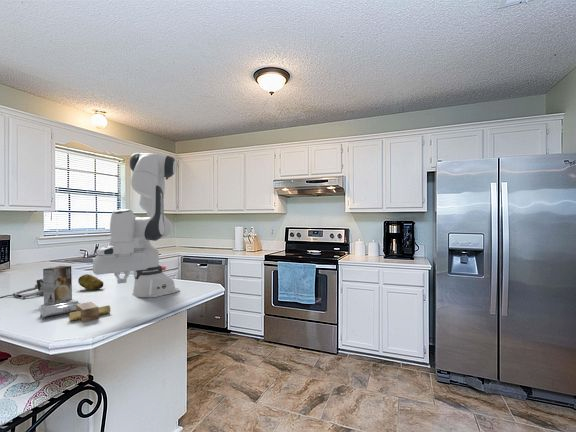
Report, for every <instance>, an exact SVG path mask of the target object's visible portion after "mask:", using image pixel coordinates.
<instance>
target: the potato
mask: <svg viewBox="0 0 576 432" xmlns="http://www.w3.org/2000/svg"><path fill="white" fill-rule="evenodd" d="M77 279H78V280H77V281H78V282H77V283H78V284H79V286H80V287H82V288H84V289H85V290H87V291H96V290H100V289H102V288H103V287H104V281H102V280H101V279H100V278H98V277H96V276H94V275H93V274H82V275H81V276H80V277H78V278H77Z"/></svg>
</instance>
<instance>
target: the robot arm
mask: <svg viewBox="0 0 576 432" xmlns="http://www.w3.org/2000/svg"><path fill="white" fill-rule="evenodd" d="M129 168H130V170H131V171H132V176H131V179H130V180H131V181H130V182H131V188H132V189H133V190H134V191H135V192H136V193H137V194H138V195H140V196H139V197H140V199H139V204H138V205H139V206H140V208H141V209H142V210H144V211H145V212H146V217H136V216H135V215H134V210H132V209H129V208H123V209H116V210H115V209H114V210H113V211H112V213H111V216H110V222H109V233H110V240H109V244H108V245H106V246H103V247H100V248H97V249H96V251H95V253H96V256H95V257H94V258H93V263H92V272H93V274H94V275H97V276H98V275H99V276H100V275H107V274H114V276H115V278H116V279H117V280H116V281H117V284H126V283H127V280H128V278H129V275H130V272H133V276H134V284H133V289H132V292H131V293H132V294H131V295H132V296H133V297H136V298H159V297H161V296H166V295H169V294H173V293H174V294H175V293H177V292H179V291H180V288H179V287H177V286H176V285H175V281H174V279H173V278H172V277H171V276H169V275H167V274H166V273H165V272H163V271H166V270H167V267H166V266H161V265H160V252H159V249H158V248H157V247H155V246H154V245H152V243H151V242H150V241H152V242H154V241H155V242H157V241H159V240H162V239H166V238H168V237H170V236H171V235H172V232H173V224H172V223H171V221H170V220H169V218H167V217H166V215H165V213H164V210H165V209H164V206H165V205H164V198H165V191H166V190H165V189H166V180H167V181H168V180H169V178H171V177H172V176H174V174H175V173H176V171H177V161H176V159H175V158H174V157H173V156H171V155H163V154H159V153H150V152H149V153H146V152H145V153H143V152H134V153H133V154H132V155H131V156H130V159H129ZM121 273H124V274H125V275H124V276H123V277H121V278H120V275H121Z"/></svg>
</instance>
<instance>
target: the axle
mask: <svg viewBox="0 0 576 432" xmlns="http://www.w3.org/2000/svg"><path fill="white" fill-rule="evenodd" d="M98 307H99V316H102V315H107V314H110V313H111V306H110V305H103V306H98ZM80 319H81V311H77V312H71V313H69V315H68V320H69V322H73V321H78V320H80Z"/></svg>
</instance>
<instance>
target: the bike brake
mask: <svg viewBox="0 0 576 432" xmlns="http://www.w3.org/2000/svg"><path fill="white" fill-rule="evenodd" d="M35 290H37V291H35ZM32 291H34V292H32ZM27 292H32V293H28V294H24V293H27ZM22 294H23V295H22ZM38 294H42V295H44V284H43V278H41V279H37V280H36V284H34V287H29V288H26V289H23V290H19V291H16V292H12V294H8V295H4V296H0V299H3V298H5V297H12V296H13V297H16V298H21V299H23V300H25V299H26V298H29V297H32V296H33V297H34V296H35V295H38Z"/></svg>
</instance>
